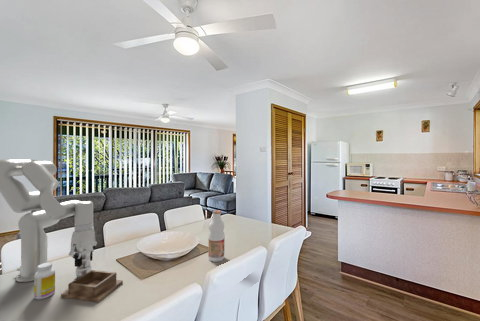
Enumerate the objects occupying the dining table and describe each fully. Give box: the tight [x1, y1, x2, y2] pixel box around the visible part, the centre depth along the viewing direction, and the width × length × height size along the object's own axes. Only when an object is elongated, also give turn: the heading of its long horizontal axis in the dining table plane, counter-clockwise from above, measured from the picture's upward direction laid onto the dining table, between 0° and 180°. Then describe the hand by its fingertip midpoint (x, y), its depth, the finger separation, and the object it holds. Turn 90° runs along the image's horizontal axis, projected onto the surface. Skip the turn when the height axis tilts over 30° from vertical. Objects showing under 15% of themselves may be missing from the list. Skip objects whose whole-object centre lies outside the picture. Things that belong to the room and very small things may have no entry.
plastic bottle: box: [75, 243, 93, 279], centre depth 109 cm, size 6×7×20 cm
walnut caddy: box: [60, 269, 124, 303], centre depth 97 cm, size 18×14×5 cm
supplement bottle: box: [33, 262, 56, 300], centre depth 93 cm, size 7×7×13 cm
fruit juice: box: [207, 209, 225, 263], centre depth 129 cm, size 9×9×28 cm
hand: (83, 262), depth 109 cm, fingers open, 5 cm apart
